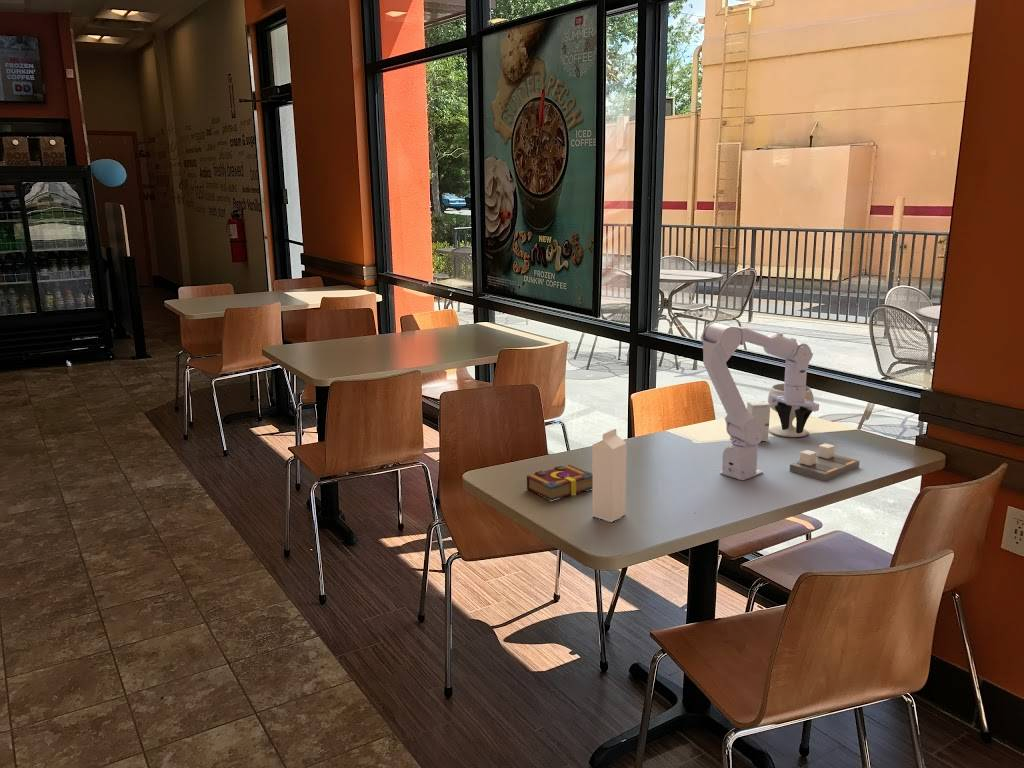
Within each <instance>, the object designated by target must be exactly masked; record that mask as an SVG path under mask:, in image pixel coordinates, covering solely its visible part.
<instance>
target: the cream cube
mask: <svg viewBox="0 0 1024 768" xmlns="http://www.w3.org/2000/svg"><path fill="white" fill-rule="evenodd" d="M817 454H818V456H819V457H823V458H827V459H828V458H831V457H834V454H835V445H832V444H829V443H826V442H825V443H823V444H820V445H818V452H817Z"/></svg>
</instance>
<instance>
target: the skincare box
mask: <svg viewBox="0 0 1024 768" xmlns="http://www.w3.org/2000/svg"><path fill="white" fill-rule="evenodd" d="M746 409H747V410H748V411H749V413H750V414H752V416H753V417H754V418H755V419H756V421H757V423H758V424H760V425H761V426H762V427H763V429H764V436H763V439H762V440H761V441H766V442H768V441H769V432H770V431H769V429H770V415H771V407H770V404H769V403H768V401H765V400H764V401H747V402H746Z"/></svg>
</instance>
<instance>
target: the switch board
mask: <svg viewBox="0 0 1024 768" xmlns="http://www.w3.org/2000/svg"><path fill="white" fill-rule="evenodd" d="M858 468H859V469H860V460H857V459H855V458H850V457H846V456H842V455H839V454H835V453H834V457H831V458H828V459H827V458H823V457H819V456H818V453H816V463H815V464H812V465H810V466H808V465H805V464H801V463H800V460H797V461H795V462H793V463H790V464H789V472H792V473H795V474H799V475H802V476H805V477H809V478H812V479H816V480H819V481H822V482H827V481H828V480H832V479H834V478H837V477H839V476H842V475H844V474H846V473H847V474H848V473H850V472H851V471H854V470H856V469H858Z"/></svg>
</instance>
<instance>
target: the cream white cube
mask: <svg viewBox="0 0 1024 768" xmlns="http://www.w3.org/2000/svg"><path fill="white" fill-rule="evenodd" d="M816 454H818V452H816V451H813V450H809V449H805V450H802V451H800V454H799V461H800V463H801V464H805V465H808V466H810V465H812V464H815V463H816Z"/></svg>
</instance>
